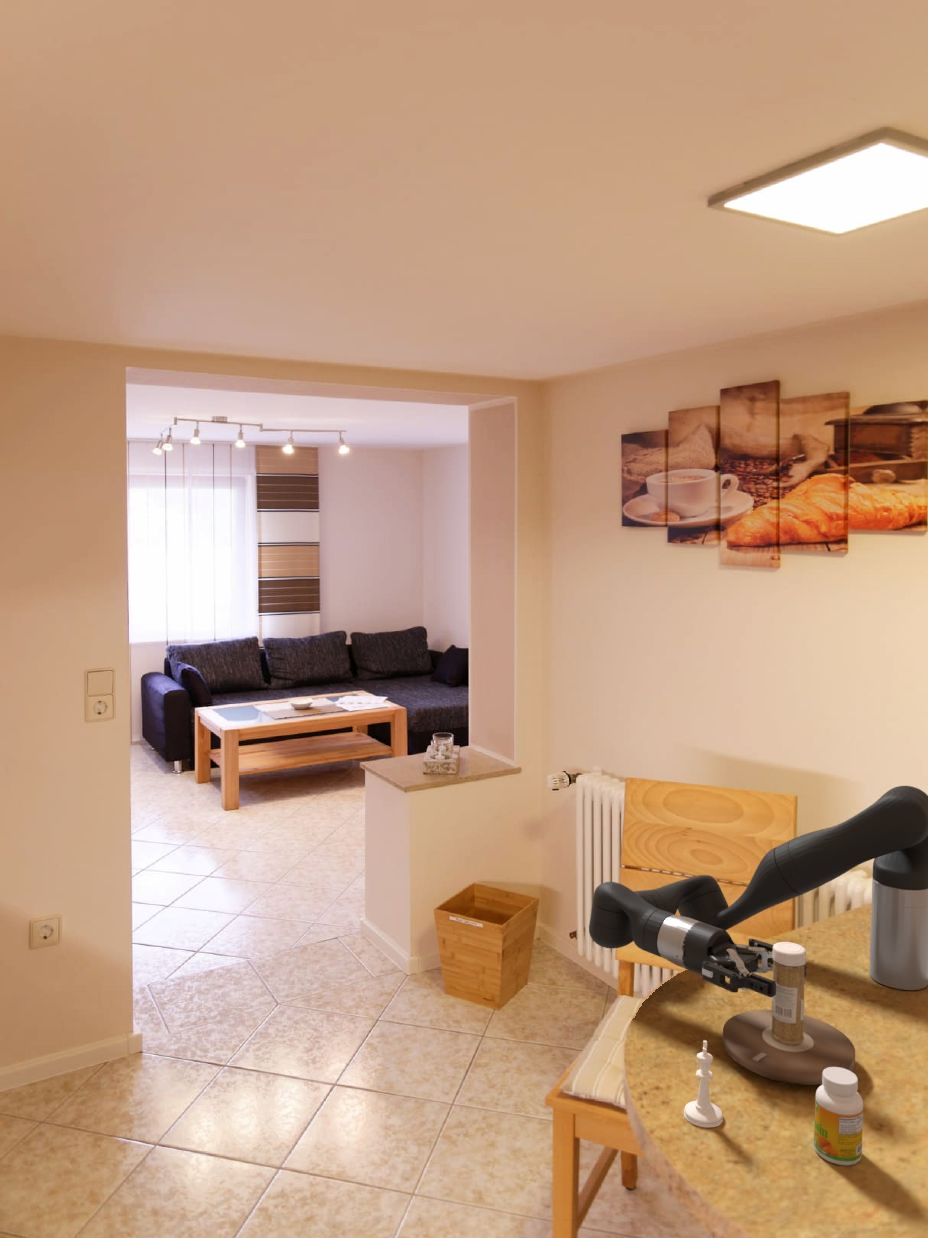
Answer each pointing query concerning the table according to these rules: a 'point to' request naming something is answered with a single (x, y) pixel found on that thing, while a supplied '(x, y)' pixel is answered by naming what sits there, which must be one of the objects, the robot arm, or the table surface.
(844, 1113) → the supplement bottle
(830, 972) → the table surface
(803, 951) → the sprinkles bottle
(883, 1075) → the table surface
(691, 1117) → the chess piece
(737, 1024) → the turntable platter
